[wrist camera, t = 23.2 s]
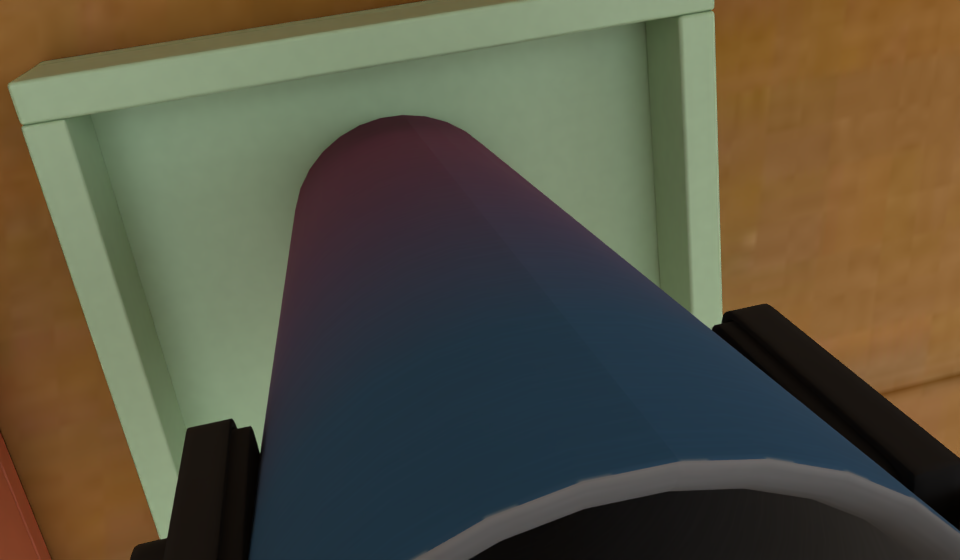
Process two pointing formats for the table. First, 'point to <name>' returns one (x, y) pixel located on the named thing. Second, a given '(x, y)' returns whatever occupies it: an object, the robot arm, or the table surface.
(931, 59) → the table surface
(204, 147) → the sage tray
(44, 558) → the terracotta tray
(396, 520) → the cup
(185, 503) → the robot arm
